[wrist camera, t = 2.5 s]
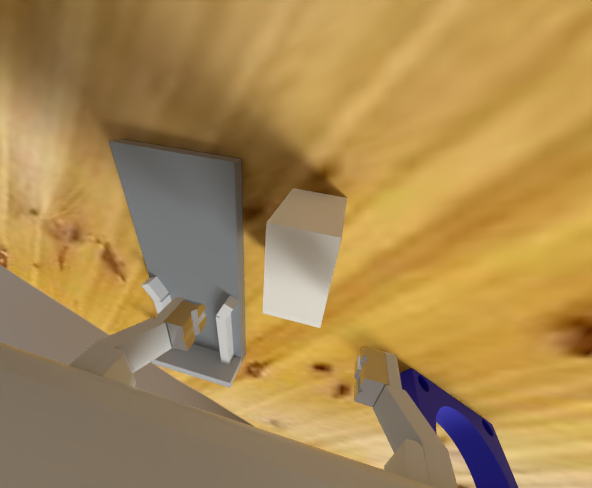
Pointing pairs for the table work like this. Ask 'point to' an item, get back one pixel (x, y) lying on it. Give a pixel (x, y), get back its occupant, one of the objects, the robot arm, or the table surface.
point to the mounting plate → (191, 246)
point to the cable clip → (462, 431)
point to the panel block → (302, 255)
